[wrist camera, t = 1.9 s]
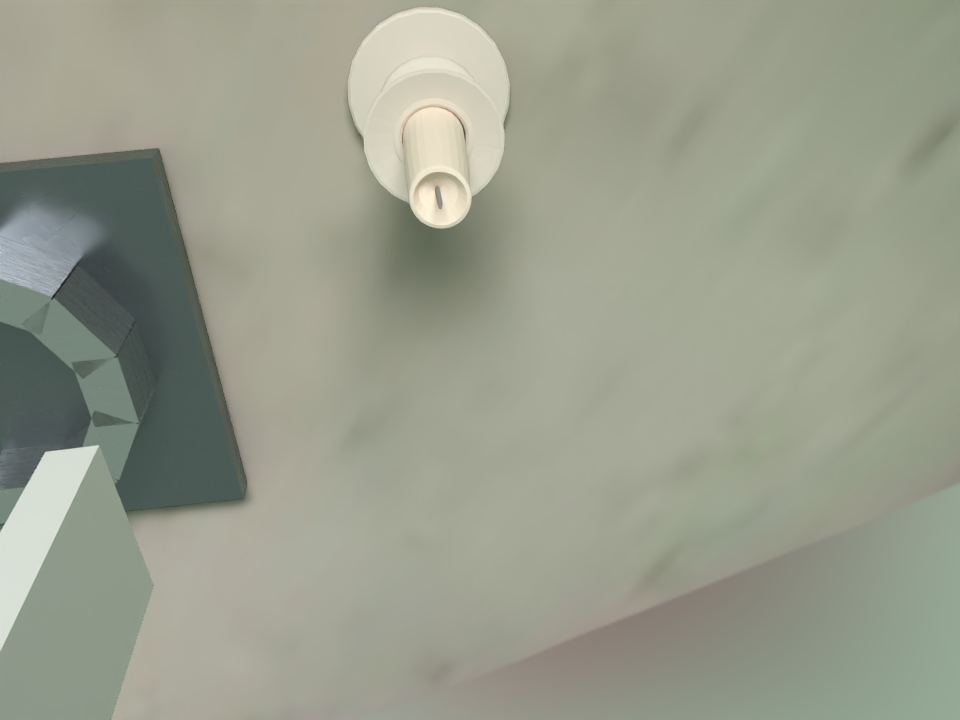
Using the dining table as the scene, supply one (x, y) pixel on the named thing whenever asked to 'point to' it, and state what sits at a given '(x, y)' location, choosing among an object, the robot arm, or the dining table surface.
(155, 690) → the dining table surface
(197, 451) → the ring stand
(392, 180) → the candle
